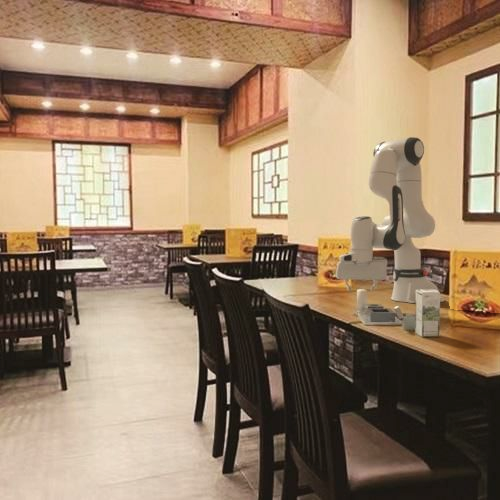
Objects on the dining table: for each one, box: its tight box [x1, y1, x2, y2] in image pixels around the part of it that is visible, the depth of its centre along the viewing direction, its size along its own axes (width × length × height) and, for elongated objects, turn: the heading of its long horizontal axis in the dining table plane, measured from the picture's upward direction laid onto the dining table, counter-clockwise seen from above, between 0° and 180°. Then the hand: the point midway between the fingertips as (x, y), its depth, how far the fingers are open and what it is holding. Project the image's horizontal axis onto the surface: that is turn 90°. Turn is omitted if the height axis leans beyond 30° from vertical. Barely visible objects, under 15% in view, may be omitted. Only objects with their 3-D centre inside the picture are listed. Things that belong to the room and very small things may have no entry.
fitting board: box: [354, 303, 402, 326], centre depth 182 cm, size 13×22×4 cm, turn 177°
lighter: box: [393, 305, 415, 331], centre depth 164 cm, size 7×2×8 cm, turn 94°
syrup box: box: [414, 289, 441, 338], centre depth 156 cm, size 6×6×14 cm
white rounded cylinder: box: [356, 288, 368, 310], centre depth 200 cm, size 4×4×8 cm
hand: (360, 290), depth 200 cm, fingers open, 8 cm apart
